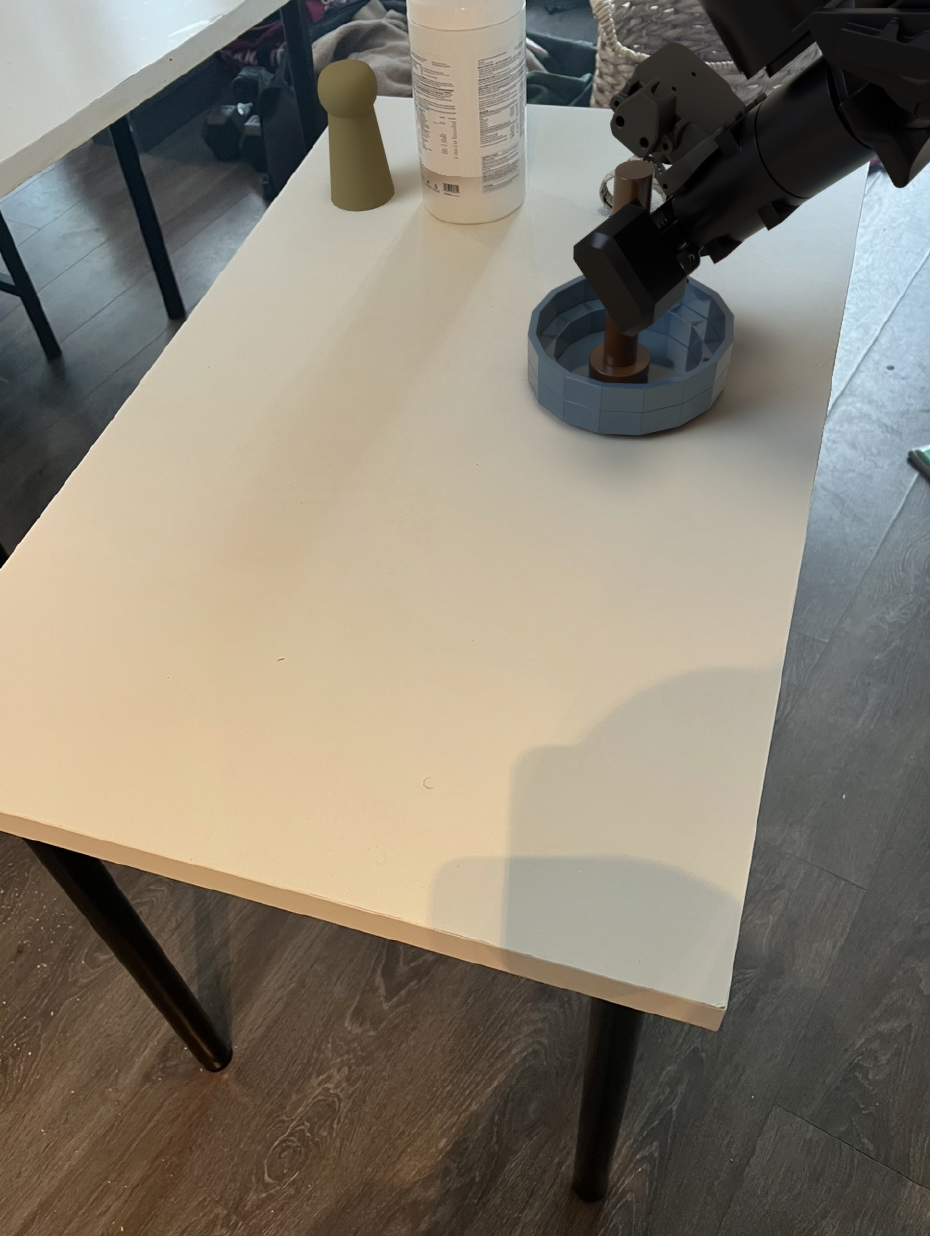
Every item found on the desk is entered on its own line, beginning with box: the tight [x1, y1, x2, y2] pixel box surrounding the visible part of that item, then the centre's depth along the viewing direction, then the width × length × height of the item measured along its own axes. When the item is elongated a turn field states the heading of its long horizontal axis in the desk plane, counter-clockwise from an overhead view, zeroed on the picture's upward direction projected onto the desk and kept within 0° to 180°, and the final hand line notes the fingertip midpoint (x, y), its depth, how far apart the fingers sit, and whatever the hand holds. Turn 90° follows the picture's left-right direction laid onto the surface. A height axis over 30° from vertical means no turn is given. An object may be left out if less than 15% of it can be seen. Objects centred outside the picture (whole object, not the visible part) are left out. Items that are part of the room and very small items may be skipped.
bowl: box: [527, 274, 735, 436], centre depth 71 cm, size 14×14×4 cm
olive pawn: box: [317, 58, 395, 212], centre depth 87 cm, size 6×6×11 cm
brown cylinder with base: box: [589, 160, 654, 384], centre depth 66 cm, size 4×4×14 cm
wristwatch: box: [598, 154, 667, 215], centre depth 83 cm, size 4×6×5 cm, turn 64°
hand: (609, 274), depth 66 cm, fingers closed on brown cylinder with base, 2 cm apart
